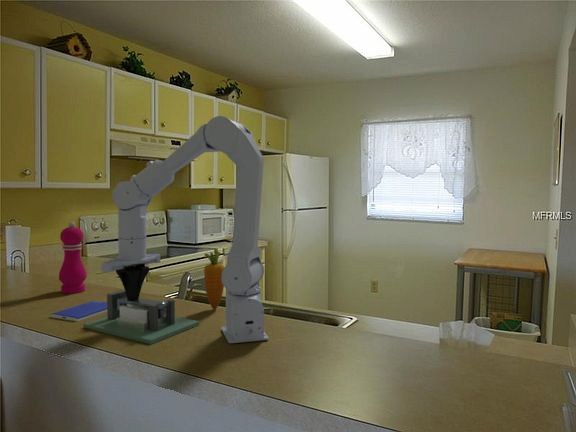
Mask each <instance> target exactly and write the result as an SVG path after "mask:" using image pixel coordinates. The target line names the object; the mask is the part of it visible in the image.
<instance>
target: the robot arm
mask: <svg viewBox="0 0 576 432" xmlns="http://www.w3.org/2000/svg"><path fill="white" fill-rule="evenodd" d="M217 152H218V153H219V152H221V153H222V154H224V155H226V156H227V157H228V158H229V159H230V160H231V162H233V164H234V165H235V166H236V167H237V168H236V184H235V196H234V197H235V199H234V214H233V216H234V217H233V229H232V243H231V247H230V249H229V252H228V253H227V256H226V264H225V266H224V270H223V272H222V277H221V278H222V283H223V285H224V288H225V326H221V331H222V332H223V334H224V337H225V338H226V340H227V342H228V344H238V343H249V342H250V343H251V342H258V341H259V342H260V341H268V340H269V339H270V337H269V336H268V335H267V333H266V332H265V309H264V306H263V304H262V287H261V285H260V281H261V280H262V279H263V277H264V275H265V267H264V265H263V262H262V257H261V255H262V252H261V251H262V250H260V247H259V245H258V244H259V233H260V232H259V231H260V219H261V218H260V215H261V204H262V190H263V189H262V188H263V175H264V173H263V172H264V163H265V162H264V157H263V154H262V152H261V151H260V148H259V146H258V145H257V142H256V140H255V138H254V134H253V132H252V131H250V129H249V128H247V127H246V126H245V125H244V124H243V123H240V122H238V121H234V120H232V119H230V118H228V117H226V116H223V115H216V116H214V117H212V118H211V119H209V121H208V122H207V123H204V124H202V125H200V127H198V129H197V130H196V132H195V133H193V134H192V136H190V137H189V138H188V139H187V140H186V141H184V142H183V143H182V144H181V145H180V146H179V147H178V148H176V150H174V151H173V152H172V153H171V154H170V155H168V157H166V158H165V159H164V160H161V159H155V160H149V161H148V162H147V163H145V165H146V167H144V169H142V170H140V171H139V172H138V173H137V174H133V175H132V176H130V180H129V181H120V182H118V183H117V185H116V186H115V187H114V188H113V190H112V194H111V196H112V201H113V204H114V205H115V206H116V207H117V209H118V210H117V219H118V220H117V221H118V222H117V226H118V227H117V228H118V229H117V230H118V232H117V234H118V240H117V241H118V256H117V257H116V258H113V259H110V260H106V261H101V262H100V264H101V265H100V266H101V269H100V272H101V273H111V272H112V271H113V272H114V271H115V273H116V274H117V277H119V280H120V281H121V283H122V285H123V289H124V291H125V292H126V296H127V300H133V301H134V300H138V299H139V298H140V294H141V291H142V286H143V285H144V284H143V283H144V282H145V279H146V277H147V275H148V274H149V272H150V267H149V266H146V265H150V264H155V263H156V264H160V263H161V254H160V253H148V254H147V214H148V213H147V212H148V211H147V210H148V207H149V205H150V204H151V202H152V199H153V197H155V196H156V195H158V194H159V193H161V192H162V191H163V190H164V189H166V188H167V187H168V186H170V185H171V184H172V183H173V182H174V181H175V174H176V173H177V172H179V171H180V170H181V169H183V168H184V167H185V166H187V165H188V164H190V163H192V162H193V161H194V160H195V159H197V158H198V157H201V156H202V155H203V154H205V153H217Z"/></svg>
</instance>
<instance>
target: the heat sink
mask: <svg viewBox="0 0 576 432" xmlns="http://www.w3.org/2000/svg"><path fill="white" fill-rule="evenodd" d="M164 324H167V318H166V307H165V308H162V309H159V310H158V326H161V325H164ZM117 325H118V326H123V327H127V328H131V329H136V330H140V331H144V332H145V331H147V330H150V324H149V307H145V306H139V305H133V304H127V306H123V305H121V306H120V317H118V318H117Z"/></svg>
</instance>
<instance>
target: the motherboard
mask: <svg viewBox="0 0 576 432" xmlns="http://www.w3.org/2000/svg"><path fill="white" fill-rule="evenodd" d="M199 325H200V321H199V320H194V319H190V318H185V317H180V316H175V324H173V325H168V324H164V325H161V326H158V330H157V331H150V330H147V331H145V332H144V331H140V330H136V329H131V328H127V327H123V326H118V325H117V319H114V320H110V319H107V316H105V317H102V318H99V319H94V320H92V321H88V322H85V323H83V325H82V327H83V328H85V329H87V330H92V331H96V332H100V333H104V334H109V335H111V336H112V335H113V336H116V337H120V338H125V339H128V340H133V341H136V342H139V343H143V344H144V343H145V344H148V345H153V344H155V343H158V342H161V341H162V340H165V339H168V338H170V337H172V336H175V335H178V334H180V333H183V332H186V331H188V330H191V329H192V327H193V328H195V327H197V326H199ZM187 329H188V330H187ZM182 331H183V332H182Z"/></svg>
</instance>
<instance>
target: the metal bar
mask: <svg viewBox="0 0 576 432" xmlns="http://www.w3.org/2000/svg"><path fill="white" fill-rule="evenodd" d="M127 304H133V305H139V306H145V307H149V305H152V304H154V305H158V310H159V309H162V308H165V307H168V306H169V305H170V304H169V302H168V301H166V300H165V301H160V300H154V299H147V298H142V297H139V299H138V300H134V301H133V300H127V297H123V298H119V299H117V310H120V306H121V305H123V306H127Z"/></svg>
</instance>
